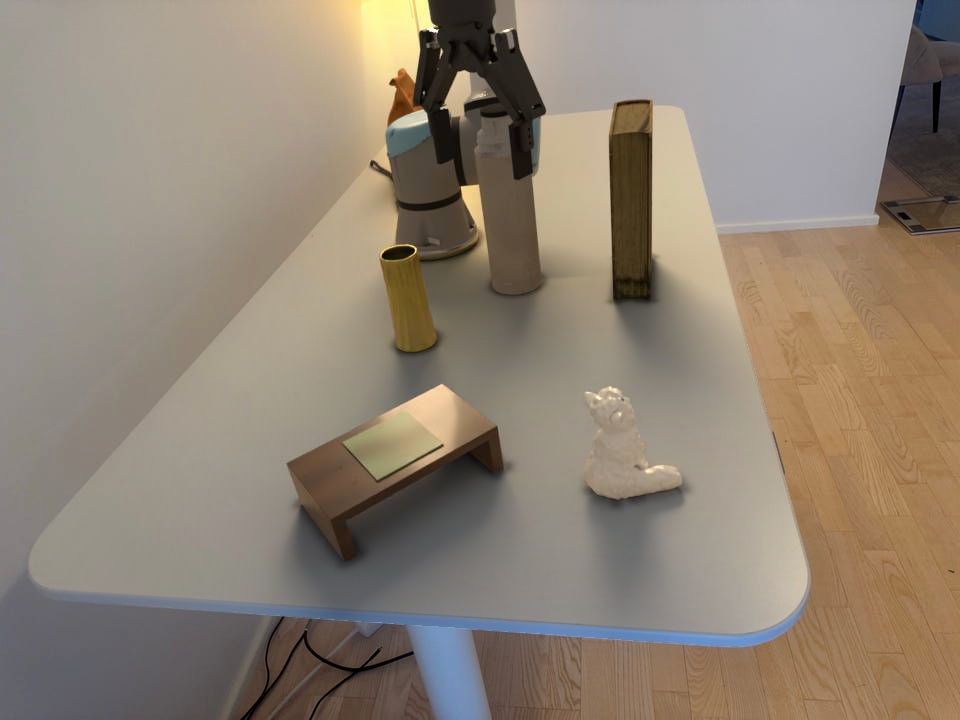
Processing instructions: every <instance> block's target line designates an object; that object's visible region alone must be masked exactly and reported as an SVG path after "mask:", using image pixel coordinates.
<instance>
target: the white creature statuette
mask: <svg viewBox="0 0 960 720" xmlns="http://www.w3.org/2000/svg"><path fill="white" fill-rule="evenodd" d="M630 401H631V400H630V398H629V397H627V396H624V395H623V392H622V390H619V389H618V388H617V387H613V386H611V385H608V386H607V387H604V388H601V389H599V391H598V393H594V392H591V391H585V392H584V393H583V402H584V405H585V406H586V407H587V408H588V411H589V415H590V416H591V417H592V418H593V419H594V420H593V421H594V423H595V425H597V426H598V427H599V428H600V429H599V430H597V431H596V436H595V437H594V438H593V444H594V445H593V449H592V450H591V451H590V452H589V457H588V459H587V461H586V464H585V469H584V472H583V475H584V477H585V482H586V484H587V485H588V486H589V488H590V489H592V491H593V492H594V493H595V494H596V495H598V496H602V497H605V498H608V499H613V500H617V501H618V500H621V499H624V500H626V499H629V497H630V498H633V497H636V496H637V497H640V496H642V495H643V496H644V495H646V494H654V493H659V492H663V491H670V490H674V489H676V488H677V487H679V486H681V485H682V484H683V477H682V474H681V473H680V472H678V468H677V467H675V466H671V465H666V464H661V465H659V464H657V465H656V464H655V465H654V466H651V467H649V466H650V463H649V462H648V460H647V457H646V456H644V454H643V453H644V452H643V451H644V450H645V449H646V444H644V441H643V439H642V436H641V435H640V434H639V433H640V432H639V431H638V429H637V426H636V425H637V423H636V414H635V411H634V409H633V406H632V405H631V403H630Z"/></svg>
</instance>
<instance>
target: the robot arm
mask: <svg viewBox="0 0 960 720" xmlns="http://www.w3.org/2000/svg"><path fill="white" fill-rule="evenodd" d="M427 5H428V10H429V16H430V17H429V18H430V22H431V24H433V25H434V26H431V27H428V28H424V29H421V30H419V32H418V39H419V40H418V41H419V54H418V63H417V69H416V75H415V81H414V83H415V88H414V95H413V103H414V105H415V106H421V107H423V110H420V111H416V112H413V113H411V114H408V115H405V116H403V117H401V118H399V119H397V120H396V121H394V122H393V123H392V124H390V126H389V127H388V128H387V127H386V130H385V134H384V136H385V137H384V138H385V144H386V156H387V159H388V162H389V167H390V170H387V169H386V168H385V167H384V168H383V167H382V166H381V164H379V163H378V162H377V161H376V160H374V159H371V160H370V162H369V165H370V166H372V165H374V166H375V167H376V168H377V169H378V170H380V171H382V172H383V173H385V174H386V175H388V176H390V178H391V179H392V182H393V186H394V192H395V204H396V207H397V209H398V211H397V219H396V220H397V221H396V229H395V237H394V241H395V246H396V245H412V246H414V247H415V248H416V249H417V252H418V256H419V261H434V260H435V261H436V260H441V259H446V258H451V257H454V256H457V255H460V254H461V253H465V252H466V251H468V250H470V249H471V248H472V247H474V245H476V243H477V242H478V239H479V232H478V226H477V223H476V222H475V219H474V218H473V216H472V214H471V212H470V210H469V208H468V206H467V204H466V202H465V200H464V198H463V192H462V187H471V186H479V182H478V174H477V167H476V160H475V153H474V150H475V148H476V147H477V146H478V143H477V139H478V138H477V133H478V131H479V130H481V129H482V122H481V119H482V116H481V115H480V109H481V108H483V107H485V106H487V105H491V104H497V103H501V104H502V106H503V107H504V109H505V110H506V112H507V113H508V115H509V116H510V118H511V119H512V121H513V122H512V123H511V124H510V125H508V128H509V138H510V147H511V157H512V166H513V176H514V180H520V179H522V178H524V177H526V176H528V175H530V174H532V178H534V177H535V176H536V175H537V174H538V172H539V167H540V157H541V138H542V137H541V136H542V117H543V116H545V115H546V113H547V108H546V106H545V104H544V102H543V101H544V100H543V99H542V95H540V92H539V90H538V88H537V85H536V82H535V80H534V77H533V76H532V73H531V71H530V69H529V67H528V64H527V62H526V60H525V57H524V55H523V53H522V51H521V47H520V41H519V35H518V22H517V12H516V9H517V8H516V0H427ZM464 71H465V72H467V73H469V82H470V84H469V85H470V94H469V96H467V98H466V99H465V101H464V102H463V104H462V105H463V115H458V116H452V112H451V111H450V109H449V108H448V107H446V106H447V103H446V102H445V101H446V99H447V97H448V95H449V93H450V91H451V89H452V86H453V84H454V82H455V79H456V78H457V75H458V73H460V72H464Z"/></svg>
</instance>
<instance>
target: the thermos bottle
mask: <svg viewBox="0 0 960 720" xmlns="http://www.w3.org/2000/svg"><path fill="white" fill-rule="evenodd" d="M480 115H481V116H482V119H481V122H482V129H481V130H479V131H478V133H477V138H478V139H477V143H478V146H477V147H476V148H475V150H474V153H475V160H476V167H477V174H478V182H479V185H478V188H479V189H478V190H479V196H480V203H481V210H482V219H483V226H484V233H485V241H486V247H487V248H486V249H487V256H488V263H489V270H490V277H491V283H492V288H493V290H494V291H495V292H498V293H499V294H504V295H508V296H509V295H511V296H512V295H523V294H526V293H529V292H532V291H534V290H536V289H537V288H538V287H539V286H540V285H541V283H542V270H541V261H540V260H541V259H540V248H539V238H538V227H537V216H536V205H535V194H534V193H535V192H534V183H533V182H534V181H533V177H532V174H530V175H528V176H526V177H524V178H522V179H520V180H514V176H513V166H512V157H511V147H510V138H509V128H508V125H510V124H511V123H512V122H513V121H512V119H511V118H510V116H509V115H508V113H507V112H506V110H505V109H504V107H503V106H502V104H501V103H497V104H491V105H487V106H485V107H483V108H481V109H480Z"/></svg>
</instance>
